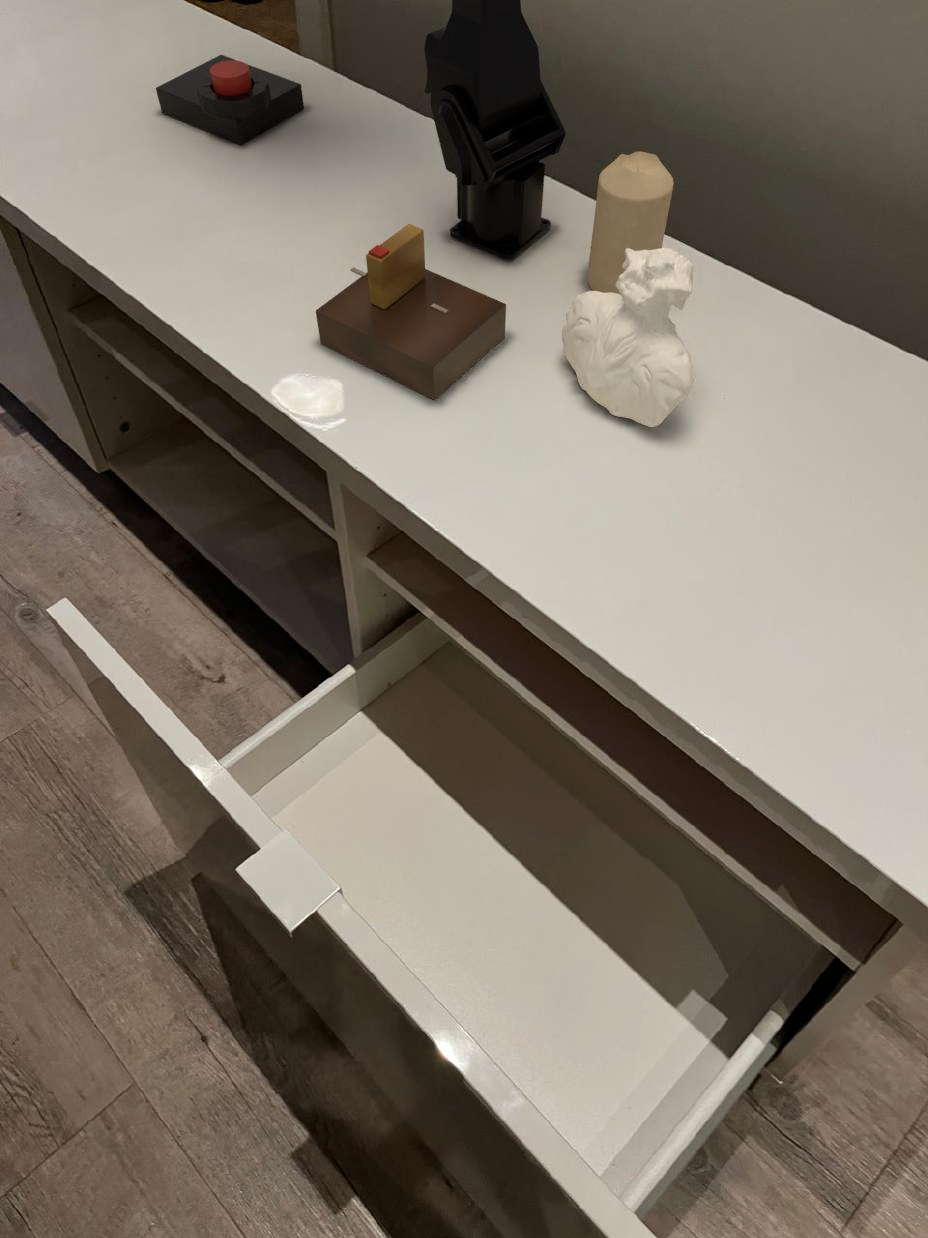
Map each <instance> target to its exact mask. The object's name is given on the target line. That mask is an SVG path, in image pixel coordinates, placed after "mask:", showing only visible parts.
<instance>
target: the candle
mask: <svg viewBox="0 0 928 1238" xmlns="http://www.w3.org/2000/svg"><path fill="white" fill-rule="evenodd" d="M674 183H675V182H674V178H673V176H672V174H671V173H670V172H669V171H668V169H667V168H666V167H665V166H664V164H663V163H662V162H661V160H660V159H659V157H658V156H657V155H656V154H654V153H649V152H645V151H633V153H631V154H626V153H625V154H624V153H621V154H619V156H617V158H616V159H614V160H613V161H612V162H611V163H610V164H609V165H607V166H606V167H605V168H604V169H603V170H602V171H601V172H600V174H599V176H598V184H597V192H596V202H595V208H594V209H595V210H594V216H593V217H594V218H593V226H592V233H591V240H590V241H591V242H590V250H589V258H588V269H587V283H588V285H589V287H590V289H591V291H598V292H602V293H608V292H611V293H617V294H620V293H619V290H618V289H617V287H616V282H617V280H618V277H619V276H620V275H621V274H622V273H624V272H625V270H626V269H623V268H622V265H623V263H624V262H625V260H626V254H625V250H626V249H627V248H630V249H632V250H634V251H641V250H654V249H660V248H663V243H664V239H665V234H666V233H665V232H666V227H667V223H668V222H667V221H668V218H669V217H668V216H669V212H670V206H671V200H672V195H673V189H674V185H675V184H674ZM620 295H621V294H620ZM621 296H622V295H621Z"/></svg>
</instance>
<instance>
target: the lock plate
mask: <svg viewBox="0 0 928 1238" xmlns="http://www.w3.org/2000/svg"><path fill="white" fill-rule="evenodd" d="M350 272H352V273H354V274H356V275H358V276H360V277H359V278H357V279H356V280H355V281H353V282H352V283H350V284H349V285H348V286H346V287H345V288H344V289H342V290H341V291H339V293H337V294H336V295H334V296H333V297H332V298H330V299H328V301H326V302H325V303H323V304H322V305H320V307H318V308H317V309H316V310H315V317H316V322H317V329H318V335H319V341H320V345H322V346H324V347H327V348H328V349H331V350H332V351H333V352H336V353H338V354H341V355H342V356H344V357H347V358H349V359H351V360H352V361H354V362H357V363H358V364H361V365H362V366H364V367H367V368H369V369H370V370H373V371H375V372H377V373H378V374H381V375H382V376H384V377H386V378H389V379H391V380H393V381H394V382H396V383H398V384H400V385H403V386H405V387H407V388H409V389H411V390H413V391H414V392H416V393H418V394H421V395H423V396H425V397H427V398H429V399H431V400H433V401H435V400H437V398H438V397H440V396H441V395H442V394H443V393H444V392H446V390H448V389H449V388H450V387H452V385H453V384H454V383H455V382H456V381H458V380H459V379H460V378H461V377H462V376H464V375H465V374H466V373H467V372H468V371H469V370H470V369H471V368H473V366H475V365H476V364H477V363H478V362H479V361H480V360H481V359H482V358H483V357H484V356H486V355H487V354H488V353H489V352H490V351H491V350H492V349H494V347H496V346H497V345H498V344H500V342H502V340H504V339H505V337H506V318H507V304H506V303H505V302H502V301H500V300H497V299H496V298H493V297H491V296H489V295H486V294H484V293H481V292H479V291H477V290H475V289H472V288H470V287H468V286H465V285H463V284H461V283H459V282H456V281H455V280H452V279H451V278H450V279H449V278H447V277H446V276H443V275H440V274H438V273H437V272H433V271H431V270H429V269H427V268H425V278H424V279H423V280H422V281H421V282H419V283H418V284H417V285H415V286H414V287H413V288H412V289H410V290H409V291H408V292H406V293H405V294H404V295H403V296H401V297H400V298H399V299H398V300H396V301H395V302H394V303H392V304H391V305H390V306H389V307H387V308H386V309H382V308H380V307H378V306H376V305H374V304H372V303H371V302H370V291H369V281H368V271H366V272H365V271H363V270H361V269H358V268H357V267H355V266H354V267H351V268H350Z"/></svg>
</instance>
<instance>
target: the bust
mask: <svg viewBox="0 0 928 1238" xmlns="http://www.w3.org/2000/svg"><path fill="white" fill-rule="evenodd" d="M625 254H626V260H625V262H624V263H623V265H622V268H623V269H626V270H625V272H624V273H622V274H621V275H620V276H619V277H618V280H617V282H616V287H617V289H618V290H619V293H620V294H621V295H622V296H621V295H620V294H617V293H611V292H608V293H602V292H598V291H593V290H588V291H585V292H583V293H580V294H579V295H576V296H575V297H574V298H573V300H572V302H571V306H570V307H569V308H568V309H567V311H566V314H565V323H564V324H563V326H562V329H561V341H562V344H563V352H564V357H565V358H566V359H567V361H568V362H569V364H570V366H571V368H572V369H573V370H574V372H575V373H576V379H577V382H578V384H579V386H580V388H581V389H582V390H583V391H585V392H586V393H587V394H588V396H589V397H590V398H591V399H593V401H595V402H596V404H598V405H600V406H602V407H604V408H605V409H606V410H608V412H609V413H610V414H611V415H612V416H614V417H619V418H625V419H630V420H633V421H634V422H636V423H638V424H641V425H643V426H646V427H649V428H655V427H658V426H659V425H661V423H662V422H663V421H664V420H665V419H666V418H667V417H668V415H670V414H671V413H672V411H673V410H674V409H675V408H676V407H677V406H678V404H679V403H681V402H682V401H683V400H685V399H686V398H687V397H688V395H689V394H690V392H691V390H692V387H693V385H694V384H695V382H696V379H697V378H696V372H695V371H694V369H693V363H692V355H691V353H690V351H689V350H688V348H687V346H686V344H685V342H684V341H683V339H682V338H681V337H679V334H678V332H677V326H676V324H675V323H674V322H673V321H672V319H671V318H670V317H669V315H670V309H671V306H674V307H675V308H676V309H678V310H679V311H683V309H684V308H685V304H686V301H687V299H688V297H689V296H691V295H692V293H693V282H694V264H693V263H692V262H691V261H690V260H689V259H688V258H686V256H685V255H684V254H681V252H680V249H678V250H676V249H675V248H670V247H662V248H660V249H654V250H641V251H634V250H632V249H630V248H627V249H626V250H625Z"/></svg>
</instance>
